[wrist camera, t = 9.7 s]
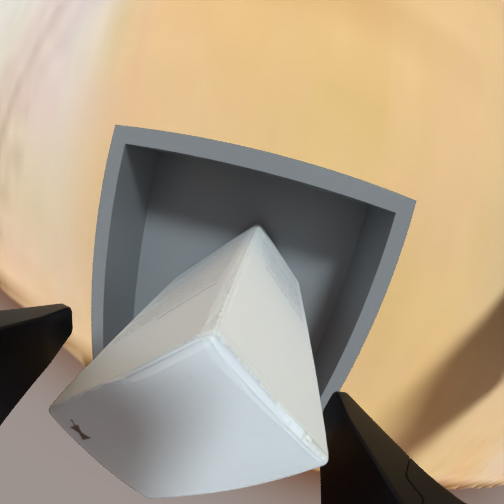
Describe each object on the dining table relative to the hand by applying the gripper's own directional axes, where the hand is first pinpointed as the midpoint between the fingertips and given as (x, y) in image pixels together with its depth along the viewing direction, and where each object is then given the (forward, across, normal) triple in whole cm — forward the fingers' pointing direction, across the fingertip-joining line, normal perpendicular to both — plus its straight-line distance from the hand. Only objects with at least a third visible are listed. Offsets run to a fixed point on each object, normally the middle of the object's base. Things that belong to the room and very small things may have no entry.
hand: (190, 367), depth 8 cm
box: (+9, 0, 0) cm, 9 cm away
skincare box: (+9, 0, 0) cm, 9 cm away
